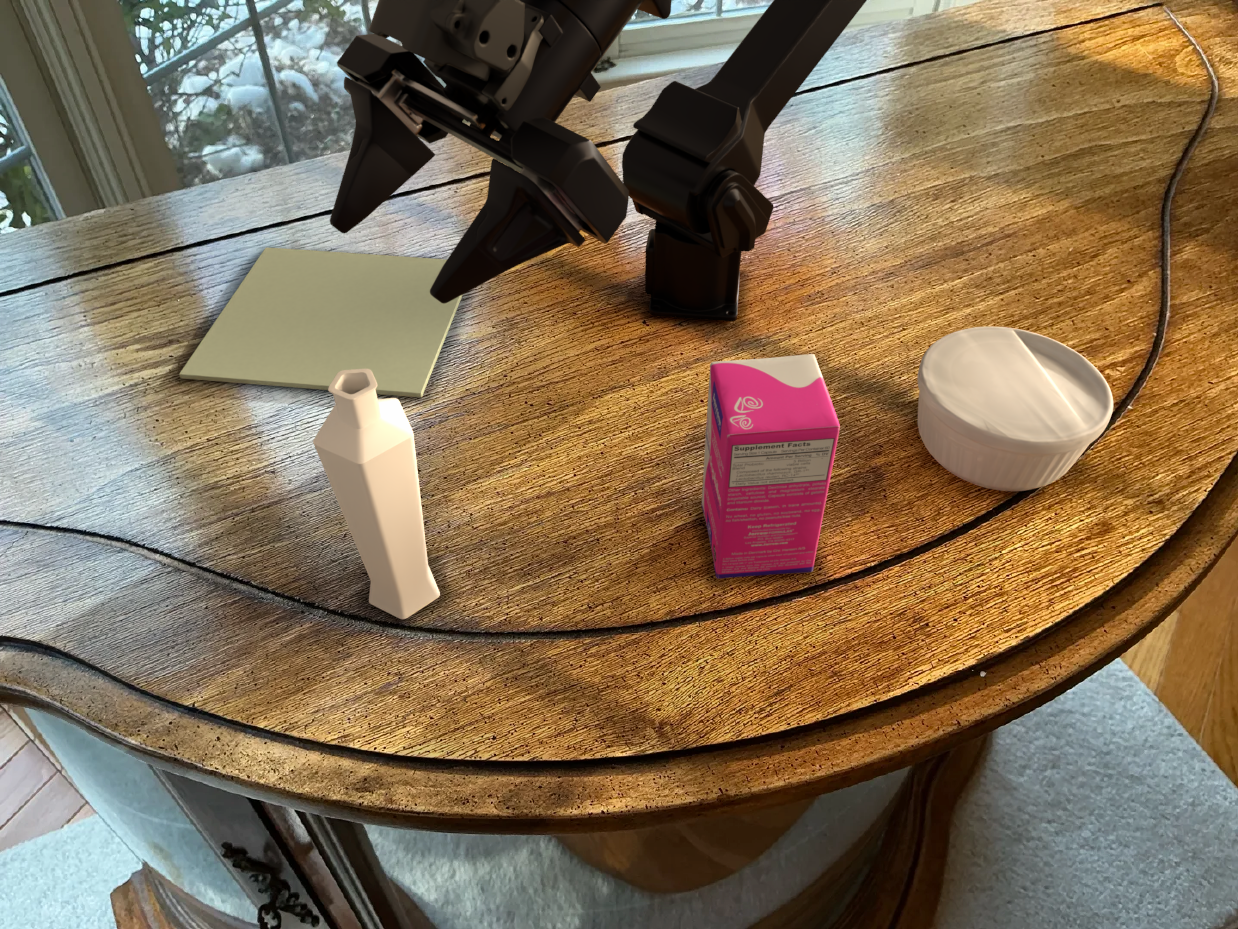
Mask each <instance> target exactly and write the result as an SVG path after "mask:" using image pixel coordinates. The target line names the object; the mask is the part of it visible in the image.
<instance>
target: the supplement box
mask: <svg viewBox="0 0 1238 929" xmlns="http://www.w3.org/2000/svg"><path fill="white" fill-rule="evenodd" d="M708 379H709V380H708V390H707V391H708V392H707V393H708V394H707V406H706V407H707V408H706V425H705V439H704V455H703V457H704V458H703V472H702V488H701V509H702V514H703V517H704V520H705V524H706V530H707V534H708V540H709V544H710V549H711V556H712V560H713V561H712V562H713V569H714V574H715V575H714V576H715V578H716V579H718V580H719V579H728V578H729V579H731V578H745V577H758V576H773V575H787V574H788V575H789V574H809V573H813V572H814V567H815V560H816V557H817V556H816V555H817V552H818V546H819V542H820V541H819V539H820V535H821V530H822V525H823V519H824V518H823V517H824V513H825V508H826V502H827V498H828V492H829V488H830V483H831V477H832V471H833V467H834V463H835V462H834V461H835V456H836V451H837V446H838V441H839V434H840V429H841V425H840V421H839V419H838V415H837V412H836V410H835V407H834V405H833V401H832V397H831V395H830V393H829V390H828V388H827V384H826V382H825V379H824V376H823V374H822V371H821V369H820V366H819V363H818V360H817V357H816V355H815V354H814V353H808V354H796V355H785V356H777V357H763V358H762V357H761V358H749V359H748V358H747V359H733V360H732V359H731V360H717V361H710V363H709V377H708Z"/></svg>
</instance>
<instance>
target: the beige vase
mask: <svg viewBox="0 0 1238 929" xmlns="http://www.w3.org/2000/svg"><path fill="white" fill-rule="evenodd" d="M376 387H377V382H376V380H375V377H374V375H373V373H372V371H371V370H370V369H353V370H342V371H340V372H338V373H337V375H336V376H335V378H334V379H333V381H332V383H331V384H330V386H329V388H328V390H327V391H328V392H329V393H331V394H332V395H333V400H334V402H335V404H334V405H333V407H332V409H331V411H330V412H329V413H328V416H327V417H326V418H325V420H324V422H323V424H322V425H321V426H320V428H319V430H318V432H317V434H316V435H315V436H314V438H313V440H312V443H313V446H314V448H315V450H316V453H317V455H318V458H319V460H320V462H321V465H322V467H323V470H324V472H325V474H326V477H327V479H328V482H329V485H330V486H331V489H332V491H333V494H334V496H335V498H336V501H337V503H338V506H339V508H340V510H341V513H342V516H343V518H344V521H345V522H346V525H347V528H348V530H349V532H350V535H351V537H352V539H353V542H354V544H355V547H356V549H357V552H358V554H359V557H360V559H361V561H362V563H363V567H364V569H365V571H366V574H367V575H368V579H369V580H370V585H369V594H368V603H369V604H370V605H372V606H374V607H376V608H378V609H380V610H382V611H384V612H386V613H387V614H390V615H392V616H394V617H396V618H397V619H400V620H406V619H408V618H410V617H411V616H413V615H414V614H416V613H417V612H419V611H420V610H422V609H423V608H425V607H426V606H428V605H429V604H431V603H432V602H434V601H435V600H437V599H438V598H439V597H440V596H441V592H440V589H439V587H438V585H437V582H436V580H435V578H434V575H433V573H432V570H431V568H430V566H429V560H428V552H427V542H426V535H425V534H426V533H425V526H424V525H425V524H424V517H423V508H422V498H421V489H420V481H419V472H418V462H417V453H416V445H415V435H414V431H413V428H412V426H411V424H410V422H409V419H408V417H407V415H406V412H405V410H404V409H403V406H402V404H401V402H400V400H399V399H398V398H396V397H389V398H378V394H376V390H375V389H376Z"/></svg>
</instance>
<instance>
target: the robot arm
mask: <svg viewBox="0 0 1238 929" xmlns="http://www.w3.org/2000/svg"><path fill="white" fill-rule="evenodd" d="M867 1H868V0H772V1H771V3H770V4H769V5H768V7H767V8H766V10H765V11H764V12H763V13H762V14H761V16H760V17H759V18H758V19H757V21H756V22H755V24H754V25H753V26H752V27H751V29H750V30H749V31H748V33H747V34H746V35H745V37H744V38H743V39H741V41H740V42H739V44H738V45H737V47H736V48H735V49H734V51H733V52H732V53H731V54H730V56H729V57H728V58H727V59H726V61H725V62H724V63H723V65H722V66H721V67H720V69H718V71H717V73H716V74H715V75H714V76H713V77H712V79H711V80H709V81H708V82H707V83H705V84H702V85H700V86H698V87H695V88H693V87H691V86H689V85H686V84H684V83H682V82H679V81H677V80H673V81H671V82H670V83H669V84H668V85H666V86H665V87H664V88H663V89H662V90H661V91H660V93H659V95H658V96H657V98H656V100H655V101H654V103H653V104H652V106H651V107H650V108H649V110H648V111H647V112H646V113H645V114H644V115H643V116H641V117H640V118H639V119H637V120H636V121H635V122H634V123H633V126H632V127H633V129H635V130H636V131H635V132H634V133H633V134H632V135H631V137H630V139H629V141H628V142H627V144H626V145H625V148H624V150H623V152H622V159H621V169H622V179H621V178H620V177H619V176H618V174H617V173H616V172H615V170H614V168H612V166H611V165H610V163H609V162H608V160H606V158H605V157H604V155H603V154H602V153H601V151H600V150H599V149H598V147H597V146H596V145H595V143H593V141H592V140H591V139H589V138H587V137H585V136H583V135H582V134H579V133H577V132H575V131H573V130H571V129H570V128H567V127H565V126H563V125H561V124H559V123H558V122H556V121H558V119H559V117H561V115H562V113H563V112H564V111H565V109H566V108H567V107H568V105H569V104H570V102H571V101H572V100H573V98H574V97H575V96H577V97H578V98H580V99H583V100H585V101H587V102H590V103H591V102H592V101H593V99H594V98H595V96H596V95H597V93H598V92H599V91H600V90H601V88H602V86H601V85H600V84H599V82H598V80H596V77H595V76H594V75H593V73H592V72H593V71H594V70H595V68H596V67H597V66H598V64H599V63H600V62H601V60H602V59H603V57H604V56H605V55H606V53H607V52H608V51H609V49H610V47H612V45H613V43H614V42H615V41H616V39H617V38H618V37H619V35H620V34H621V33H622V31H623V30H624V29H625V27H626V25H628V23H629V21H630V20H631V19H632V17H633V16H634V15H635V14H636V12H637V11H641V12H643V13H645V14H648V15H651V16H654V17H657V18H659V19H661V20H666V19H668V18H669V17H670V15H671V13H672V0H378V2H377V4H376V6H375V10H374V13H373V16H372V19H371V22H370V25H369V27H368V31H369V32H370V33H368V34H360V35H359V34H358V35H355V37H354V38H353V40H352V41H351V42H350V43H349V45H348V46H347V48H346V49H345V50H344V52H343V53H342V55H341V56H340V57H339V58H338V60H337V61H336V65H337V67H338V68H339V69H340V70H341V71H342V72H343V73H344V74H345V75H346V76H344V78H343V79H344V80H343V89H344V90H345V91H346V92H347V94H349V95H350V99H351V105H352V109H353V114H354V119H355V120H354V121H355V126H354V132H353V138H352V142H351V146H350V150H349V154H348V157H347V160H346V163H345V164H346V165H345V166H344V167H345V168H344V172H343V175H342V178H341V181H340V185H339V187H338V191H337V195H336V198H335V201H334V204H333V208H332V211H331V215H330V218H329V224H330V225H331V226H332V227H333V228H334V229H336V230H337V231H338V232H340V233H341V234H347V233H349V232H350V231H351V230H352V229H354V228H355V227H357V226H358V225H359V224H360V223H361V222H363V221H365V219H367V218H368V217H369V216H370V215H371V214H372V213H373V212H375V211H376V210H377V209H378V208H379V207H380V206H381V205H382V204H384V203H385V202H386V200H388V199H389V198H390V197H391V196H392V195H394V193H395V192H397V191H398V190H399V189H400V188H401V187H402V186H403V185H404V184H406V183H407V182H408V181H409V180H410V179H411V178H412V177H414V176H415V175H416V174H417V173H418V172H419V171H420V170H421V169H422V168H423V167H425V165H427V164H428V163H429V162H430V161H432V159H433V158H434V157H435V156H436V154H435V153H434V151H433V150H432V149H430V147H429V146H428V145H426V143H428V144H429V145H430V144H432V143H435V142H437V141H440V140H442V139H445V138H447V136H448V135H451V136H453V137H454V138H457V139H458V140H460V141H462V142H463V143H466V144H467V145H470V147H473V148H475V149H476V150H479V151H481V152H482V153H484V154H485V155H487V156H489V157H491V158H492V159H491V163H490V171H489V180H488V187H487V196H486V200H485V202H484V204H483V206H482V207H481V209H480V210H479V212H478V213H477V215H476V216H475V218H474V219H473V220H472V222H471V224H470V225H469V226H468V228H467V229H466V231H465V232H464V234H463V236H462V237H461V238H460V240H459V241H458V242H457V244H456V246H455V247H454V249H453V250H452V252H451V253H450V255H449V256H448V258H447V259H446V260H447V261H446V262H445V264H444V265H443V267H442V269H441V270H440V272H439V274H438V276H437V278H436V280H435V281H434V283H433V285H432V287H431V289H430V294H431V296H433V297H434V298H435V299H437V300H438V301H439V302H441V303H443V304H445V303H448V302H450V301H451V300H453V299H455V298H457V297H459V296H461V295H462V296H463V295H464V294H466V293H468V292H470V291H472V290H473V289H475V288H477V287H480V286H481V285H483V284H485V283H486V282H489V281H490V280H493V279H494V278H497V277H498V276H500V275H502V274H503V273H505V272H508V271H510V270H511V269H513V268H516V267H517V266H519V265H521V264H524V263H526V262H529V261H531V260H532V259H535V258H537V257H540V256H542V255H545V254H546V253H550V252H552V251H553V250H554V251H555V250H556V249H558V248H561V247H563V246H565V245H568V244H570V245H573V246H575V247H577V248H580V247H581V246H582V245H583V244H584V243H585V242H586V238H585V236H584V235H582V234H581V233H580V231H582V232H583V233H585V234H587V235H588V236H590V237H592V238H594V239H596V240H597V241H599V242H601V243H603V244H605V245H606V244H607V243H609V241H610V240H611V239H612V238H613V236H614V235H615V233H616V232H617V231H618V229H619V227H620V226H621V225H622V224H623V222H624V221H625V220H626V218H627V215H628V207H629V199H631V201H632V204H633V206H634V209H635V212H636V213H637V214H640V215H645V216H646V217H648V218H650V219H651V220H654V221H655V226H654V228H650V229H649V231H648V234H647V240H646V246H645V261H644V262H645V263H644V264H645V266H644V267H645V268H644V269H645V270H644V293H645V294H646V295H647V296H650V298H649V305H648V314H649V315H650V316H652V317H661V318H675V319H687V320H688V319H689V320H700V321H701V320H703V321H704V320H705V321H717V322H735V321H736V320H737V319H738V311H739V296H740V295H739V294H740V277H741V276H740V275H741V262H742V261H741V260H742V253H743V252H751V251H752V250H754V249H755V245H756V239H758V238H760V237H761V236H763V235H764V234H765V233H766V232H767V229H768V225H769V224H770V220H771V217H772V215H773V211H774V208H775V207H774V203H773V202H771V201H770V200H769V199H768V197H766V196H765V195H764V194H763V193H762V192H761V191H760V190H759V189H758V188H757V187H756V186H755V185H756V183H757V181H758V180H759V178H760V176H761V174H762V164H763V163H762V162H763V153H764V145H765V144H764V143H765V137H766V136H765V135H766V133H767V131H768V129H769V128H770V126H771V125H772V124H773V122H774V121H775V120H776V119H777V117H778V116H779V114H781V112H782V111H783V110H784V108H785V107H786V105H788V104H789V102H790V100H791V99H792V98H793V96H794V95H795V94H796V93H797V91H799V89H800V88H801V87H802V85H803V83H804V82H805V81H806V80H807V78H808V77H809V76H810V75H811V73H812V72H813V71H814V70H815V68H816V67H817V66H818V64H819V63H820V62H821V60H822V59H823V58H824V57H825V55H826V54H827V52H829V50H830V49H831V47H832V46H833V45H834V43H835V42H836V41H837V39H838V38H839V37H840V36H841V34H842V33H843V32H844V31H845V29H846V28H847V27H848V25H849V24H850V23H851V22H852V20H853V19H854V18H855V17H856V15H857V14H858V13H859V12H860V10H861V9H862V7H863V6H864V5H865V4H866V2H867ZM388 38H392V39H394V40H396V41H398V42H400V43H401V44H399V43H397V42H395V41H393V40H391V39H388ZM419 57H420V58H422V59H423V61H421V59H419ZM438 78H439V79H440V80H441V81H442V82H443V83H444V84H445V86H444V85H443V84H442V83H441V82H440V80H439V79H438ZM463 121H465V122H467V123H469V124H467V123H465V122H463ZM491 136H494V137H495V138H497V139H498V140H497V139H495V138H494V137H491ZM423 141H424V142H425V143H424V142H423Z"/></svg>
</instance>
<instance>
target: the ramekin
mask: <svg viewBox="0 0 1238 929" xmlns="http://www.w3.org/2000/svg"><path fill="white" fill-rule="evenodd" d="M916 377H917V378H916V379H917V387H918V403H917V404H918V405H917V428H918V434H919V436H920V439H921V441H922V443H923V444H924V447H925V448H926V450H927V451H928V453H929V454H930V455H931V456H932V457H933V459H934V460H935V461H936V462H937V463H938V464H939V465H940V466H942V468H944V469H945V470H946V471H948V472H949V473H951V474H952V475H954V476H956V477H957V478H959V479H961V480H963V481H965V482H967V483H970V484H972V485H975V486H978V487H981V488H984V489H990V490H995V491H999V492H1000V491H1002V492H1024V491H1031V490H1035V489H1038V488H1043V487H1045V486H1047V485H1050V484H1052V483H1053V482H1056V481H1058V480H1059V479H1061V477H1063V476H1065V475H1066V474H1067V472H1069V470H1070V469H1071V468H1072V467H1073V466H1074V464H1075V463H1076V462H1077V461H1078V459H1079V458H1080V457H1081V456H1082V454H1083V453H1084V452H1085V451H1086V450H1087V448H1088V447H1089V445H1090V444H1092V443H1093V442H1094V441H1096V440H1097V439H1098V438H1099V437H1100V436H1101V435H1102V434H1103V433H1104V431H1105V430H1106V428H1107V427H1108V425H1109V422H1110V420H1111V417H1112V414H1113V411H1114V397H1113V392H1112V390H1111V388H1110V385H1109V384H1108V382H1107V380H1106V378H1105V377H1104V375H1103V374H1102V373H1101V372H1100V371H1099V369H1098V368H1097V367H1096V366H1094V364H1092V362H1091V361H1089V360H1088V359H1087V358H1086V357H1084V356H1083V355H1082V354H1080V353H1079V352H1078V351H1076V350H1075V349H1073V348H1071V347H1069V346H1067V345H1065V344H1064V343H1062V342H1060V341H1058V340H1056V339H1053V338H1050V337H1048V336H1046V335H1042V334H1039V333H1036V332H1032V331H1029V330H1025V329H1019V328H1014V327H1007V326H993V325H991V326H989V325H987V326H975V327H969V328H968V327H967V328H963V329H960V330H957V331H956V330H955V331H953V332H951V333H948V334H946V335H944V336H942V337H940V338H939V339H937V340H936V341H935V342H933V343H931V345H930V346H929V347H928V348H927V349H926V351H925V352H924V353H923V355H922V358H921V360H920V363H919V367H918V369H917V376H916Z"/></svg>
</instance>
